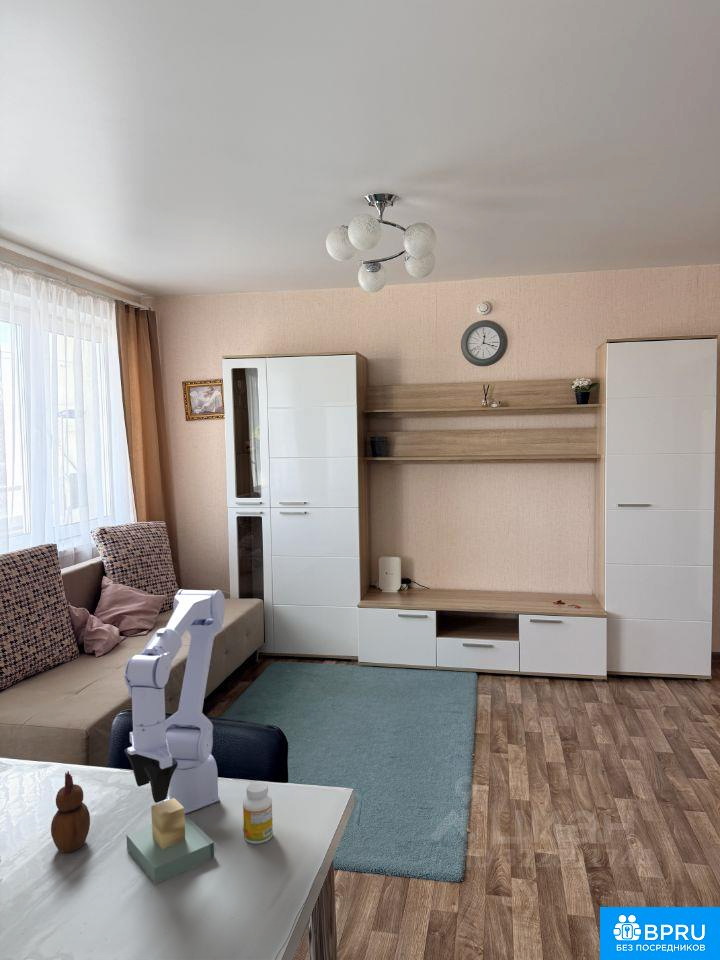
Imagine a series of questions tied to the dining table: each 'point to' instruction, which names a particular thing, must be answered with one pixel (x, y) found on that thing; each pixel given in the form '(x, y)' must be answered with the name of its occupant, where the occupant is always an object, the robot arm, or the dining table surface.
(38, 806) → the dining table surface
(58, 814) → the wooden figurine
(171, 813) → the block
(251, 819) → the supplement bottle
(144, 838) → the green flat slab
